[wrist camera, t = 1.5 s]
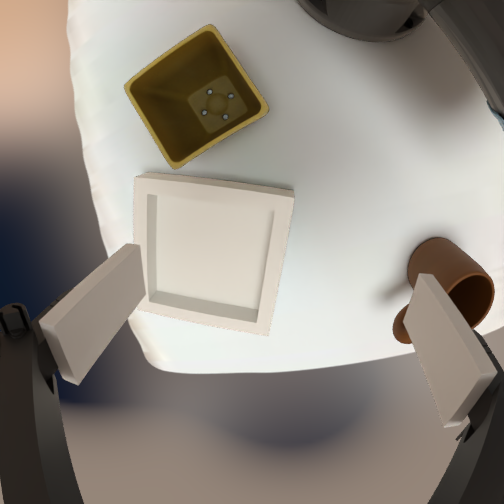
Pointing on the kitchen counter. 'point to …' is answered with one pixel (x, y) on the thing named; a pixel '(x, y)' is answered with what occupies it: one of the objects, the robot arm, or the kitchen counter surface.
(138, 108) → the flower pot
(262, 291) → the white square tray
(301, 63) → the kitchen counter surface
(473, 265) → the mug
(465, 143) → the kitchen counter surface
